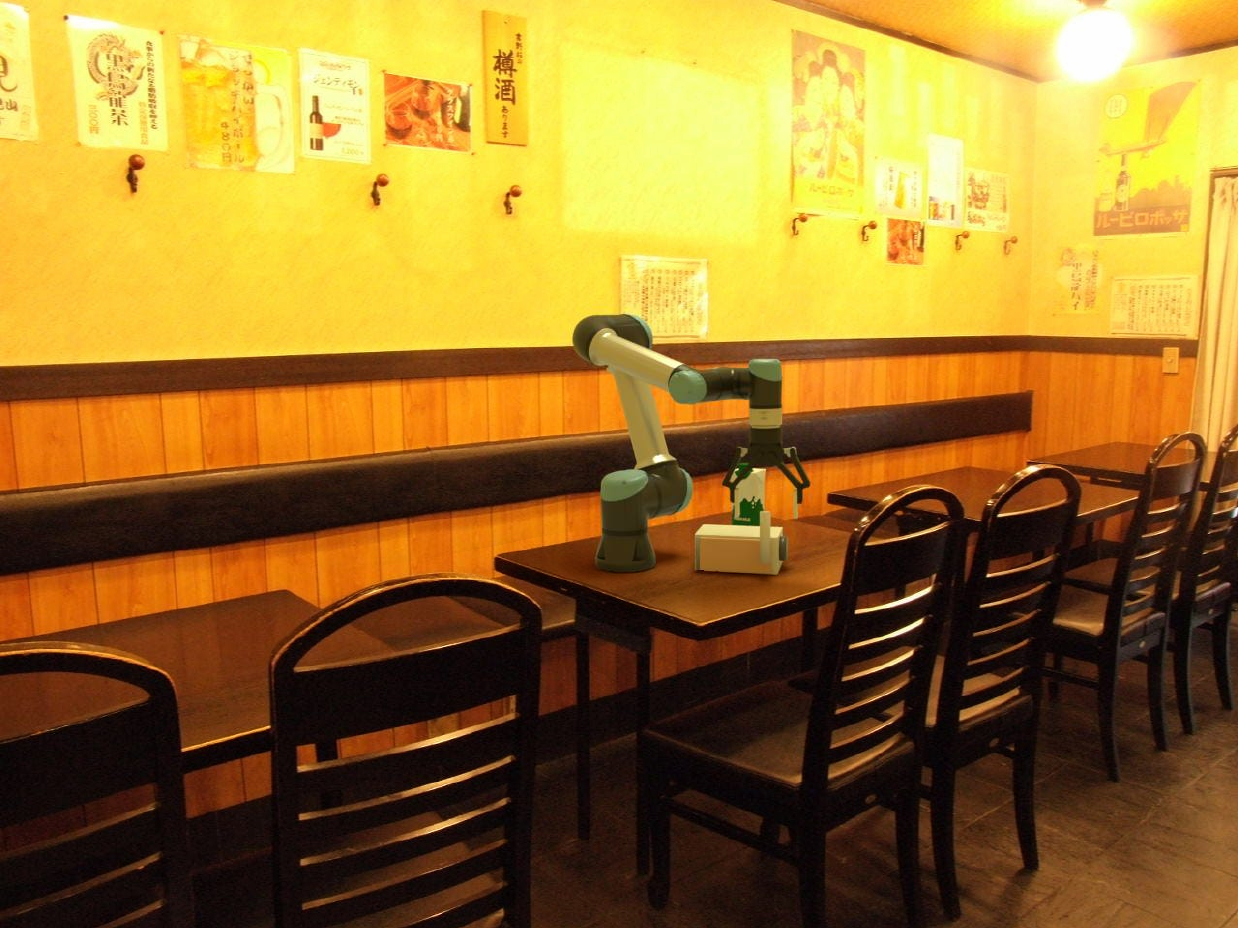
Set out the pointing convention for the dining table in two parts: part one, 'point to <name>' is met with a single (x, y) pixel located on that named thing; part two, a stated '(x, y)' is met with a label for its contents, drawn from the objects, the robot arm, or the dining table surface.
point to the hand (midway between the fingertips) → (766, 517)
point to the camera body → (749, 532)
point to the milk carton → (749, 496)
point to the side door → (736, 552)
